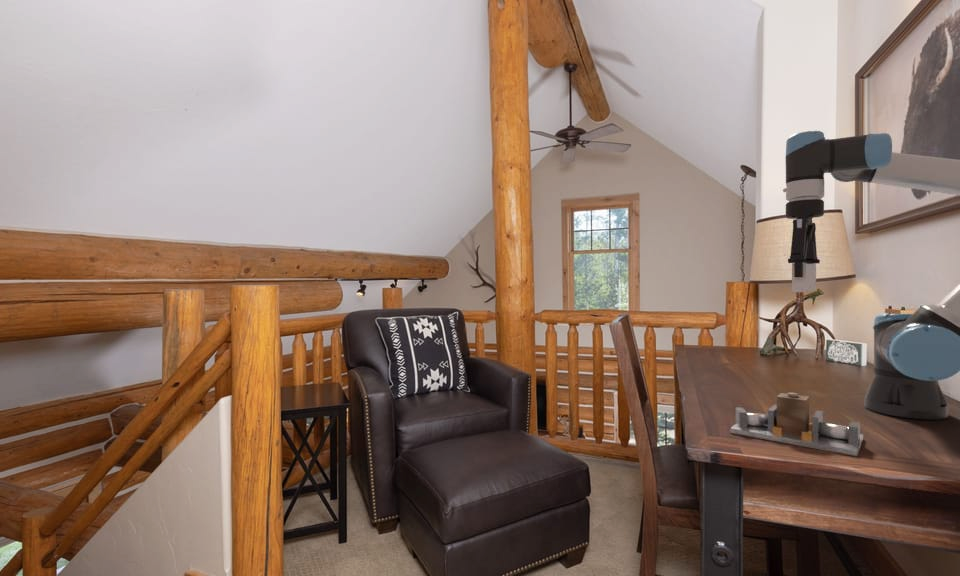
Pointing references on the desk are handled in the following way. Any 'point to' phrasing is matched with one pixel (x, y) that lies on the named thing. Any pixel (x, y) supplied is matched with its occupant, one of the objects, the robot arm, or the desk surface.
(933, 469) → the desk surface
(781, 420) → the block
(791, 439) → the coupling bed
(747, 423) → the shaft
